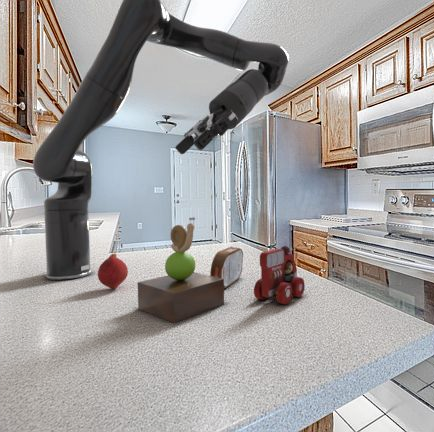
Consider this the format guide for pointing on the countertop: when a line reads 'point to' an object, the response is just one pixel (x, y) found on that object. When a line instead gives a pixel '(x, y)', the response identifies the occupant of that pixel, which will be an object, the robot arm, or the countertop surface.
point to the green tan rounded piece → (181, 253)
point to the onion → (112, 272)
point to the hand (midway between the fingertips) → (187, 148)
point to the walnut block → (180, 296)
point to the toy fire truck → (278, 276)
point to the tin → (227, 265)
